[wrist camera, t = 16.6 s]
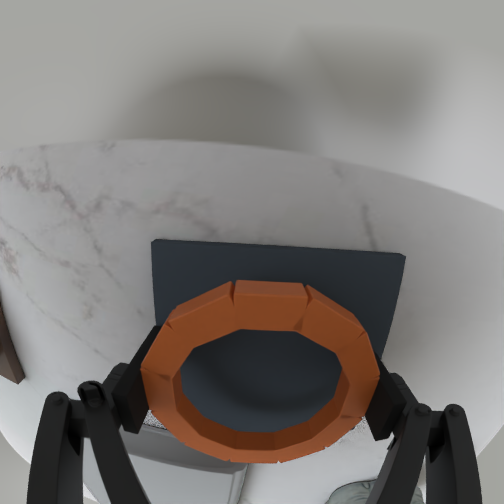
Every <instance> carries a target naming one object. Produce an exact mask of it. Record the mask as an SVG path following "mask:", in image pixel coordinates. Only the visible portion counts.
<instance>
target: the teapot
mask: <svg viewBox="0 0 504 504" xmlns="http://www.w3.org/2000/svg"><path fill="white" fill-rule="evenodd" d="M375 482H376V480H374V481H370V482H358V483H352V484H349V485H346V486H344V487H341V488H339V489H338V490H336V491H335V492H334V493H333V494H332V495H331V496H330V499H329V501H328V502H327V503H326V504H365V503H366V501H367V499H368V497H369V495H370V493H371V490H372V488H373V486H374V484H375ZM410 504H425V503H424V502H423V497H422V492H421V490H420V488H419V487H418V486H417V485H416V488H415V491H414V494H413V497H412V500H411V503H410Z"/></svg>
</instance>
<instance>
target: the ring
mask: <svg viewBox="0 0 504 504" xmlns="http://www.w3.org/2000/svg"><path fill="white" fill-rule="evenodd" d="M239 329H249V330H270V331H296V332H298V333H300V334H301V335H303V336H305V337H307V338H309V339H310V340H312V341H314V342H316V343H318V344H320V345H321V346H323V347H325V348H327V349H329V350H331V351H333V352H334V353H336V355H337V357H338V359H339V362H340V364H341V366H342V371H341V374H340V378H339V381H338V385H337V388H336V391H335V395H334V398H332V399H331V400H330V401H329V402H328V403H327V404H326V405H325V406H324V407H323V408H322V409H321V410H320V411H318V412H317V413H316V414H315V415H314V416H313V417H312V418H311V419H309V420H308V421H306V422H303V423H300V424H297V425H294V426H291V427H288V428H285V429H282V430H279V431H276V432H243V431H236V430H233V429H231V428H228V427H226V426H224V425H221V424H219V423H217V422H214V421H212V420H210V419H208V418H205V417H204V416H203V415H202V414H201V413H200V412H199V411H198V410H197V409H196V407H195V406H194V405H193V404H192V403H191V402H190V401H189V399H188V398H187V397H186V396H185V395H184V393H183V391H182V382H181V373H180V367H181V366H182V364H183V363H184V361H185V360H186V358H187V357H188V355H189V354H190V353H191V351H192V350H193V348H195V347H197V346H200V345H202V344H205V343H207V342H210V341H212V340H215V339H217V338H220V337H222V336H225V335H227V334H230V333H232V332H234V331H237V330H239ZM141 366H142V367H141V369H140V370H141V374H142V379H143V383H144V388H145V393H146V397H147V401H148V405H149V410H152V411H151V413H152V414H153V415H154V416H155V417H156V418H157V419H158V420H159V421H160V422H161V423H162V424H163V425H164V426H165V427H166V428H167V429H168V430H169V431H170V432H171V433H172V434H173V435H174V436H175V437H176V438H177V439H178V440H179V441H180V442H185V443H184V445H186V446H188V447H191V448H193V449H195V450H198V451H200V452H203V453H205V454H208V455H211V456H213V457H216V458H219V459H221V460H224V461H228V460H229V459H230V461H231V462H240V463H277V462H278V461H279V462H280V463H283V462H286V461H290V460H293V459H296V458H300V457H303V456H306V455H309V454H312V453H315V452H318V451H321V450H324V449H325V447H329V446H331V445H332V444H333V443H335V442H336V441H337V440H338V439H340V438H341V437H342V436H343V435H345V434H346V433H347V432H348V431H349V430H351V429H352V428H353V427H354V426H355V425H357V424H358V423H359V422H360V421H361V420H362V417H364V416H365V413H366V411H367V409H368V406H369V404H370V401H371V399H372V396H373V394H374V391H375V389H376V386H377V384H378V381H379V379H380V378H379V375H380V371H379V368H378V365H377V362H376V359H375V355H374V352H373V349H372V346H371V343H370V340H369V337H368V334H367V332H366V331H365V329H364V328H363V326H362V325H361V324H360V322H359V321H358V319H357V318H356V317H355V316H354V314H353V313H351V312H350V311H348V310H347V309H345V308H343V307H342V306H340V305H339V304H337V303H336V302H334V301H333V300H331V299H329V298H328V297H326V296H325V295H323V294H322V293H320V292H318V291H317V290H315V289H314V288H312V287H311V286H309V285H306V286H305V288H304V286H303V284H302V283H289V282H268V281H249V280H237V281H236V284H235V286H234V284H233V283H232V282H231V281H229V282H227V283H225V284H223V285H221V286H219V287H217V288H215V289H212V290H210V291H208V292H206V293H204V294H202V295H200V296H197V297H195V298H193V299H191V300H189V301H187V302H185V303H182V304H180V305H178V306H177V307H176V309H173V310H172V312H171V313H170V315H169V317H168V318H167V320H166V321H165V323H164V325H163V326H162V328H161V330H160V332H159V333H158V335H157V337H156V339H155V340H154V342H153V344H152V346H151V347H150V349H149V351H148V353H147V355H146V356H145V358H144V360H143V362H142V364H141Z"/></svg>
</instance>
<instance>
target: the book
mask: <svg viewBox="0 0 504 504" xmlns="http://www.w3.org/2000/svg"><path fill="white" fill-rule="evenodd" d="M69 400H71V399H69ZM119 432H120V434H121V437H122V440H123V442H124V445H125V448H126V450H127V453H128V455H129V457H130V460H131V462H132V465H133V467H134V469H135V471H136V474H137V476H138V478H139V480H140V482H141V484H142V486H143V488H144V490H145V492H146V494H147V496H148V498H149V500H150V502H151V504H237V503H238V500H239V496H240V493H241V489H242V485H243V482H244V478H245V474H246V470H247V467H248V463H240V462H231V461H230V459H229V460H228V461H224V460H221V459H219V458H216V457H213V456H211V455H208V454H205V453H203V452H200V451H198V450H195V449H193V448H191V447H188V446H186V445H184V443H185V442H180V441H179V440H178V439H177V438H176V437H175V436H174V435H173V434H172V433H171V432H170V431H169V430H165V429H160V428H156V427H152V426H148V425H144V424H142V427H141V429H140V431H139V434H134V433H130V432H126V431H124V429H123V427H122V425H121V427H120V429H119ZM83 483H84V484H85V485H86V487H87V488H88V489H89V491H90V492H91V493H92V495H93V496H94V497H95V499H96V500H97V501H98V502H99V503H100V504H111V503H110V500H109V498H108V495H107V492H106V490H105V487H104V484H103V481H102V478H101V475H100V472H99V469H98V466H97V463H96V459H95V456H94V452H93V449H92V445H91V441H90V438H84V451H83Z"/></svg>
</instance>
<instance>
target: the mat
mask: <svg viewBox="0 0 504 504" xmlns="http://www.w3.org/2000/svg"><path fill="white" fill-rule="evenodd" d="M151 253H152V277H153V293H154V306H155V318H156V326H163V325H164V323H165V321H166V320H167V318H168V317H169V315H170V313H171V312H172V310H173V309H176V307H177V306H178V305H180V304H182V303H185V302H187V301H189V300H191V299H193V298H195V297H197V296H200V295H202V294H204V293H206V292H208V291H210V290H212V289H215V288H217V287H219V286H221V285H223V284H225V283H227V282H229V281H231V282H232V283H233V284H234V286H235V284H236V281H237V280H249V281H268V282H289V283H302V284H303V286H304V288H305V286H306V285H309V286H311V287H312V288H314V289H315V290H317V291H318V292H320V293H322V294H323V295H325V296H326V297H328V298H329V299H331V300H333V301H334V302H336V303H337V304H339V305H340V306H342V307H343V308H345V309H347V310H348V311H350V312H351V313H353V314H354V316H355V317H356V318H357V319H358V321H359V322H360V324H361V325H362V326H363V328H364V329H365V331H366V332H367V334H368V337H369V340H370V343H371V346H372V347H373V349H374V350H375V352H376V353H377V355H378V357H379V358H380V360H381V357H382V354H383V351H384V347H385V344H386V341H387V337H388V334H389V330H390V327H391V323H392V319H393V315H394V311H395V307H396V303H397V299H398V295H399V290H400V285H401V281H402V276H403V270H404V265H405V259H406V256H404V255H402V254H400V253H386V252H371V251H356V250H340V249H324V248H308V247H291V246H274V245H256V244H238V243H220V242H201V241H182V240H162V239H155V240H154V241H152V242H151ZM341 371H342V366H341V364H340V362H339V359H338V357H337V355H336V353H334V352H333V351H331V350H329V349H327V348H325V347H323V346H321V345H320V344H318V343H316V342H314V341H312V340H310V339H309V338H307V337H305V336H303V335H301V334H300V333H298V332H296V331H270V330H249V329H239V330H237V331H234V332H232V333H230V334H227V335H225V336H222V337H220V338H217V339H215V340H212V341H210V342H207V343H205V344H202V345H200V346H197V347H195V348H193V350H192V351H191V353H190V354H189V355H188V357H187V358H186V360H185V361H184V363H183V364H182V366H181V367H180V373H181V382H182V391H183V393H184V395H185V396H186V397H187V398H188V399H189V401H190V402H191V403H192V404H193V405H194V406H195V407H196V409H197V410H198V411H199V412H200V413H201V414H202V415H203V416H204V417H205V418H208V419H210V420H212V421H214V422H217V423H219V424H221V425H224V426H226V427H228V428H231V429H233V430H236V431H243V432H276V431H279V430H282V429H285V428H288V427H291V426H294V425H297V424H300V423H303V422H306V421H308V420H309V419H311V418H312V417H313V416H314V415H315V414H316V413H317V412H318V411H320V410H321V409H322V408H323V407H324V406H325V405H326V404H327V403H328V402H329V401H330V400H331V399H332V398H334V395H335V391H336V388H337V385H338V381H339V378H340V374H341ZM354 428H355V426H354V427H353V428H352V429H351V430H353V429H354Z"/></svg>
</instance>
